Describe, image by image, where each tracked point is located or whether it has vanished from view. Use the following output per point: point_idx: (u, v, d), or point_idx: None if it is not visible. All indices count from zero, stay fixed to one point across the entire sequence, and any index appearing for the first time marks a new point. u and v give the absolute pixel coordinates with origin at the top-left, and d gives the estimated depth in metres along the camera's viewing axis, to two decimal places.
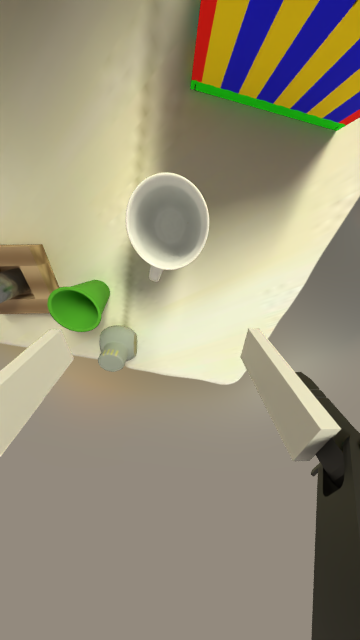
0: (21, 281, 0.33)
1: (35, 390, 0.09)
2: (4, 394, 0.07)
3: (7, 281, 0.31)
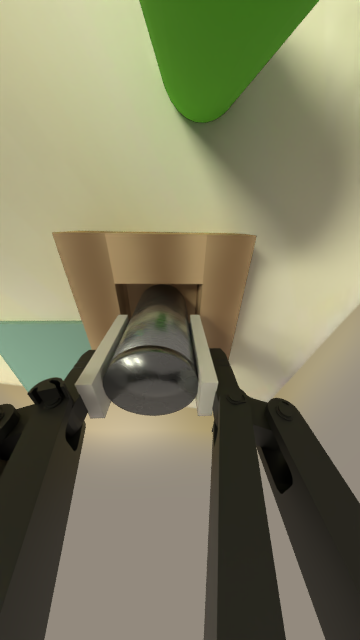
0: (153, 296, 0.13)
1: None
2: (109, 360, 0.09)
3: (139, 312, 0.11)
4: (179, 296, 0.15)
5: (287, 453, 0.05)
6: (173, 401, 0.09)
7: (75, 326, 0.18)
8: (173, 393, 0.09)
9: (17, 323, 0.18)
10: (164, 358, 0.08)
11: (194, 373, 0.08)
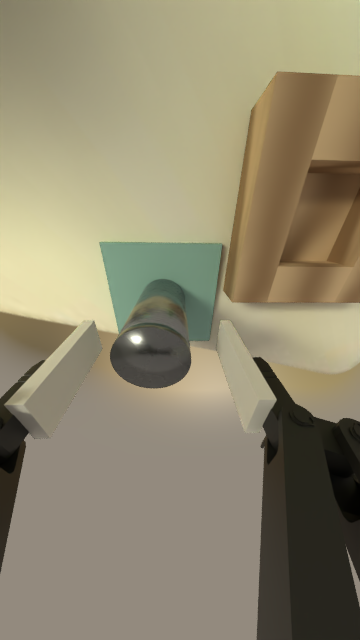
0: (154, 287, 0.15)
1: (77, 373, 0.10)
2: (59, 373, 0.08)
3: (142, 300, 0.13)
4: (178, 289, 0.17)
5: None
6: (169, 374, 0.11)
7: (204, 247, 0.16)
8: (169, 366, 0.10)
9: (141, 243, 0.16)
10: (161, 332, 0.09)
11: (187, 347, 0.10)
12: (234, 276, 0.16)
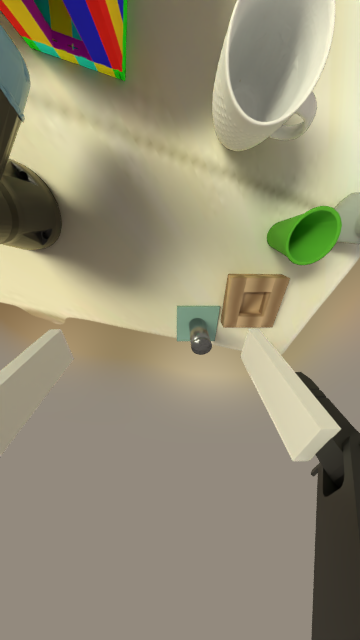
0: (197, 323, 0.44)
1: (35, 390, 0.09)
2: (4, 394, 0.07)
3: (195, 329, 0.42)
4: (204, 322, 0.46)
5: None
6: (205, 350, 0.40)
7: (213, 308, 0.45)
8: (206, 348, 0.40)
9: (191, 306, 0.45)
10: (205, 339, 0.38)
11: None
12: (224, 318, 0.45)
